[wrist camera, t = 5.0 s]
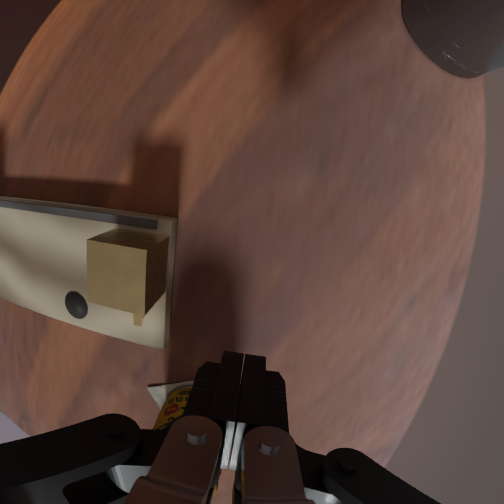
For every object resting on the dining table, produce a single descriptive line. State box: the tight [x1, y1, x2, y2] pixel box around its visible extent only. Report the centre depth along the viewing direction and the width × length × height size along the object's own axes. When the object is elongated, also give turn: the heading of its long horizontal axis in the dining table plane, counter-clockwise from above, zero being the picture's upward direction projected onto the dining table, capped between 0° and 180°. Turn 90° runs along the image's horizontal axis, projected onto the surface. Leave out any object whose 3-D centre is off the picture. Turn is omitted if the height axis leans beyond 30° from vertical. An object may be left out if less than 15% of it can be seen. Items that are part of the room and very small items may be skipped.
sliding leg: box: [87, 228, 169, 326], centre depth 19 cm, size 7×4×4 cm, turn 172°
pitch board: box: [0, 196, 178, 350], centre depth 22 cm, size 10×22×2 cm, turn 82°
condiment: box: [147, 380, 234, 495], centre depth 20 cm, size 7×8×12 cm
